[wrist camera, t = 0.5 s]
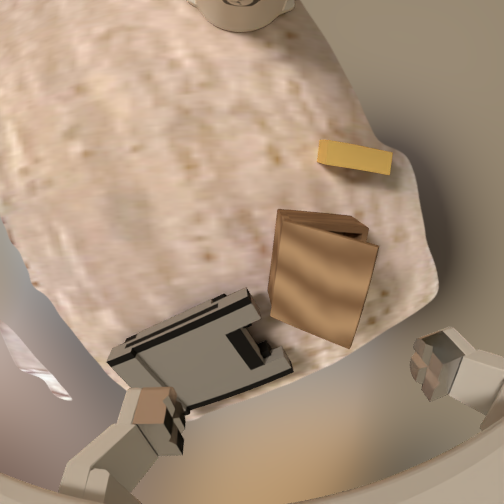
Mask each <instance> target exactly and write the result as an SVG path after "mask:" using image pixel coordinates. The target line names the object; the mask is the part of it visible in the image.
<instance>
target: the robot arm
mask: <svg viewBox="0 0 504 504" xmlns="http://www.w3.org/2000/svg"><path fill="white" fill-rule="evenodd" d="M186 1H187V2H188V3H190V4H191V5H193V6H195V7H197V8H198V9H199V10H200V12H201V13H202V15H203V16H204V17H205V19H206V20H208V21H209V22H210V23H211V24H213V25H215V26H216V27H219V28H221V29H224V30H228V31H234V32H247V31H253V30H257V29H260V28H262V27H264V26H266V25H268V24H269V23H271V22H272V21H273V20H274V19H275V18H276V17H277V16H279V15H280V14H283V13H286V12H288V11H291V10H292V9H293V8H294V6H295V1H294V0H186ZM413 348H414V350H415V351H416V352H415V353H414V354H413V356H412V357H411V361H410V370H411V374H412V376H413V378H414V379H415V381H416V382H418V383H420V384H422V389H421V390H422V391H423V393H424V394H425V396H426V397H427V398H428V400H429V401H430V402H431V401H433V400H436V399H438V398H441V397H443V396H446V395H448V394H449V396H451V397H453V398H454V399H456V400H458V401H460V402H462V403H464V404H465V405H468V406H469V407H471V408H473V409H475V410H477V411H478V412H480V413H482V414H484V415H486V417H485V419H484V420H483V422H482V423H481V425H480V429H481V432H480V433H478V434H476V435H475V436H473V437H471V438H470V439H468V440H466V441H464V442H463V443H461V444H459V445H457V446H455V447H454V448H452V449H450V450H448V451H446V452H444V453H442V454H440V455H438V456H436V457H434V458H432V459H430V460H428V461H425V462H423V463H421V464H419V465H416V466H414V467H412V468H409V469H407V470H405V471H402V472H400V473H397V474H395V475H392V476H389V477H387V478H384V479H381V480H379V481H375V482H373V483H370V484H367V485H363V486H360V487H357V488H354V489H350V490H347V491H343V492H340V493H336V494H332V495H328V496H324V497H319V498H315V499H310V500H305V501H300V502H295V503H290V504H504V357H503V356H499V355H496V354H493V353H490V352H487V351H484V350H481V349H478V350H475V348H474V347H473V346H472V345H471V344H470V343H469V342H468V341H467V340H466V339H465V338H464V337H463V336H462V335H461V334H459V332H458V331H457V330H456V329H455V328H453V327H447V328H445V329H442V330H439V331H437V332H434V333H431V334H428V335H426V336H423V337H420V338H417V339H416V341H415V342H414V346H413ZM176 398H177V393H176V391H175V389H174V387H143V388H129V389H128V390H127V392H126V395H125V398H124V401H123V405H122V408H121V411H120V414H119V418H118V421H117V424H112V425H111V426H110V427H109V428H107V429H106V430H105V431H104V432H103V433H102V434H101V435H99V437H97V438H96V439H95V440H94V441H92V442H91V443H90V444H89V445H88V446H86V447H85V448H84V449H83V450H82V451H81V452H79V453H78V454H77V455H76V456H75V457H73V458H72V459H71V460H70V461H69V462H68V463H67V466H66V469H65V471H64V475H63V478H62V481H61V484H60V487H59V490H58V493H57V492H54V491H50V490H47V489H44V488H40V487H38V486H35V485H32V484H29V483H26V482H23V481H21V480H18V479H15V478H13V477H10V476H8V475H5V474H3V473H0V504H142V503H141V502H140V501H139V500H138V499H137V498H135V497H134V496H133V495H132V494H131V492H132V490H133V489H134V488H135V487H136V485H137V484H138V483H139V482H140V480H141V479H142V478H143V477H144V475H145V474H146V473H147V472H148V470H149V469H150V468H151V466H152V465H153V464H154V462H155V461H156V460H157V459H158V456H175V455H176V456H178V455H183V445H184V438H183V437H182V435H181V433H182V432H183V431H184V429H185V423H186V421H185V413H184V409H183V407H182V404H181V403H180V402H178V401H177V400H176Z"/></svg>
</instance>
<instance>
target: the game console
mask: <svg viewBox="0 0 504 504" xmlns="http://www.w3.org/2000/svg"><path fill="white" fill-rule="evenodd" d="M259 319H261V316H260V311H259V308H258V306H257V304H256V303H255V301H254V299H253V298H252V296H251V294H250V293H249V291H248V289H247V287H246V288H243V289H241V290H239V291H237V292H235V293H232V294H230V295H228V296H225V294H222V295H220V296H218V297H216V298H214V299H211V300H208V301H206V302H204V303H202V304H200V305H198V306H196V307H193V308H191V309H189V310H187V311H185V312H183V313H181V314H178V315H176V316H174V317H172V318H170V319H168V320H165V321H163V322H161V323H159V324H157V325H155V326H152V327H150V328H148V329H146V330H144V331H141V332H139V333H137V334H136V335H134V336H131V337H129V338H127V339H126V341H125V343H123V344H121V345H119V346H117V347H114V348H112V350H111V353H110V355H109V357H108V359H107V363H108V364H109V365H110V366H111V367H112V369H113V370H114V371H115V372H116V373H117V374H118V375H119V376H120V377H121V378H122V379H123V380H124V381H125V382H126V383H127V384H128V385H129V386H130V387H131V388H143V387H174V389H175V391H176V393H177V398H176V400H177V401H178V402H180V403H181V404H182V407H183V409H184V413H185V415H188V414H190V410H192V409H195V408H199V407H202V406H205V405H208V404H211V403H214V402H217V401H220V400H223V399H226V398H229V397H232V396H234V395H237V394H240V393H243V392H245V391H248V390H251V389H253V388H256V387H259V386H261V385H264V384H266V383H269V382H271V381H274V380H276V379H279V378H281V377H283V376H286V375H288V374H290V373H293V372H294V371H293V367H292V364H291V361H290V359H289V358H288V356H287V354H286V353H285V351H284V350H283V348H282V346H280V347H278V348H276V349H273V350H272V349H271V347H270V346H269V344H268V343H267V341H266V340H265V341H263V342H261V343H258V344H256V342H255V341H254V340H253V338H252V337H251V335H250V334H249V332H248V331H247V329H246V328H247V327H249V326H251V325H252V324H251V323H252V322H255V321H257V320H259Z"/></svg>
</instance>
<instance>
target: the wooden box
mask: <svg viewBox="0 0 504 504" xmlns="http://www.w3.org/2000/svg"><path fill="white" fill-rule="evenodd" d="M285 220H288V221H292V222H296V223H300V224H303V225H307V226H311V227H315V228H318V229H322V230H325V231H329V232H333V233H336V234H340V235H343V236H347V237H350V238H354V239H357V240H361V241H364V242H366V240H367V235H368V230H369V228H368V227H366V226H365V225H363V224H362V223H360V222H359V221H358V220H356V219H355V218H353V217H352V216H347V215H338V214H328V213H318V212H307V211H296V210H284V209H278V210H277V218H276V227H275V235H274V243H273V252H272V260H271V268H270V276H269V283H268V294H269V298H270V302H271V306H272V300H273V293H274V286H275V278H276V271H277V264H278V256H279V249H280V241H281V233H282V225H283V221H285Z"/></svg>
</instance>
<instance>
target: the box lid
mask: <svg viewBox="0 0 504 504" xmlns="http://www.w3.org/2000/svg"><path fill="white" fill-rule="evenodd" d="M378 249H379V246H378V245H374V244H371V243H368V242H364V241H361V240H357V239H354V238H350V237H347V236H343V235H340V234H336V233H333V232H329V231H325V230H322V229H318V228H315V227H311V226H307V225H303V224H300V223H296V222H292V221H288V220H285V221H283V225H282V233H281V241H280V249H279V256H278V264H277V271H276V278H275V286H274V293H273V300H272V307H271V314H270V316H271V317H273V318H275V319H278V320H280V321H282V322H285V323H287V324H289V325H292V326H294V327H296V328H299V329H301V330H303V331H306V332H308V333H311V334H313V335H315V336H318V337H320V338H323V339H325V340H328V341H330V342H333V343H335V344H338V345H340V346H343V347H345V348H348V349H350V347H351V345H352V342H353V339H354V336H355V333H356V330H357V327H358V324H359V320H360V317H361V314H362V310H363V307H364V303H365V300H366V296H367V293H368V289H369V285H370V282H371V278H372V274H373V270H374V266H375V262H376V258H377V254H378Z"/></svg>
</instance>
